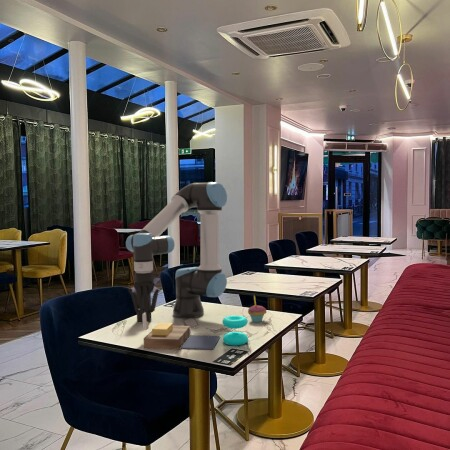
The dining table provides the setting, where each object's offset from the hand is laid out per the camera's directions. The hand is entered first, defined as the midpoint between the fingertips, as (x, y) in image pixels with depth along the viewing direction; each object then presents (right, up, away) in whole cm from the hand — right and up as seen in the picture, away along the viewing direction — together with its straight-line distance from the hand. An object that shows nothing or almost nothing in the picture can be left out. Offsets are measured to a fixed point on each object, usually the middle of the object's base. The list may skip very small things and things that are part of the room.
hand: (145, 329), depth 187 cm
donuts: (+36, -5, -4) cm, 37 cm away
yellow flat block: (+7, -1, -1) cm, 7 cm away
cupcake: (+47, -2, +27) cm, 54 cm away
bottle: (-6, -3, +31) cm, 31 cm away
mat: (+23, -5, -3) cm, 23 cm away
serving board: (+9, -5, -1) cm, 10 cm away
